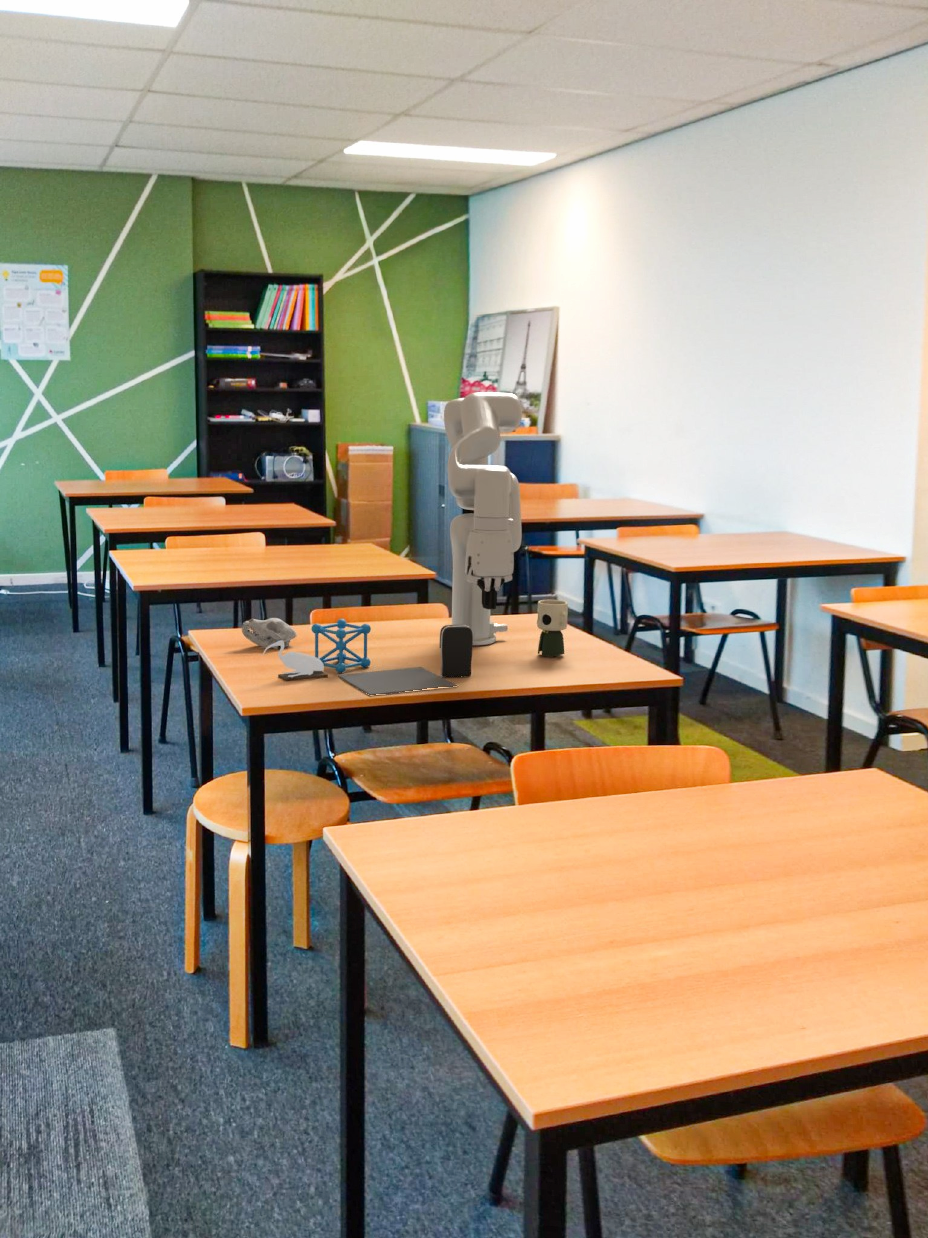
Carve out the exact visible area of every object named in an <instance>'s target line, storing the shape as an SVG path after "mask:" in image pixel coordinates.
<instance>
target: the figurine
mask: <svg viewBox="0 0 928 1238" xmlns="http://www.w3.org/2000/svg"><path fill="white" fill-rule="evenodd" d="M273 646H278V647H279V646H280V650H279V651H278V658H279V660H281V663H282V665H284V666H285V667H286V668H287V669H288V668H289V669H292V670H291V671H282V673H279V674H278V675H277V676H278V678H279V679H281V680H282V681H284V682H286V683H288V682H294V681H295V682H296V681H305V680H316V679H324V678H325V679H326V678H328V677H329V674H328V673H326V672H324V671H325V669H324V668H325V666H324V665H323V663H322V661H321V660H319V659H317V658H316V657H315V656H313V655H310V654H307V653H303V652H298V651H288V652H286V653H284V654H283V655H282V652H283V651H284V649H285V647H284V641H282V640H281V641H277V642H276V643H273V644H271V645H270V646H268V647H265V649H264V651H263V653H262V656H265V654H266V651H267V650H268V649H270V648H271V647H273Z"/></svg>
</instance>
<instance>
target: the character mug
mask: <svg viewBox="0 0 928 1238" xmlns="http://www.w3.org/2000/svg"><path fill="white" fill-rule="evenodd" d="M568 607H569V603H568V601H565V600H560V599H542V600H538V602H537V610H536V612H537V621H536V626H537V628H538V629H539V630H542V631H541V633H540V636H539V640H538V645H537V654H538V655H540V653H541V656H542V657H553V658H556V657H557V656H561V655H565V644H564V635H563V632H562V631H564V630H567V627H568V611H569V610H568V609H569V608H568Z"/></svg>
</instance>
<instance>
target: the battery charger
mask: <svg viewBox="0 0 928 1238" xmlns="http://www.w3.org/2000/svg"><path fill="white" fill-rule="evenodd" d="M439 632H440V633H439V649H440V677H442V678H447V679H448V678H450V677H451V678H465V677H464V676H468V677H471V676H472V659H473V646H474V645H473V634H472V630H471V628H470V627H468V626H466V625H452V624H447V625H446V624H445V625H443V626H442V627H441V629H440V631H439ZM461 676H462V677H461Z"/></svg>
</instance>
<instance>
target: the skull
mask: <svg viewBox="0 0 928 1238" xmlns="http://www.w3.org/2000/svg"><path fill="white" fill-rule="evenodd" d="M241 632H242V635H243V636H244V637H245V638H246V639H248V640H249V641H250V642H252V643H253V644H255V645H257V646H258V647H263V648H267V647H268V646H270V645H271V644H273V643H276V642H277V641H281V640H282V641H284V648H287V647H289V646H290V643H291V640H293V639H295V638H297V636H298V635H297V632H296V630H294V627H292V626H291V625H289V624H288V623H286V622H285V621H283V620H282V619H280V618H278V617H269V618H268V619H265V620H261V619H255V618H250V619H249V620H245V621H244V622H243V623H242V625H241ZM270 648H272V649H274V650H278V649H279V646H273V647H270Z"/></svg>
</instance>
